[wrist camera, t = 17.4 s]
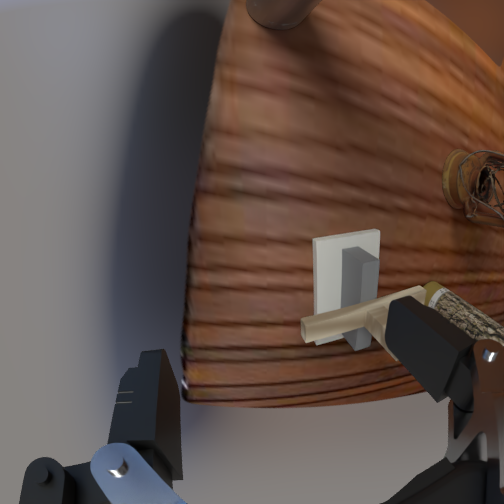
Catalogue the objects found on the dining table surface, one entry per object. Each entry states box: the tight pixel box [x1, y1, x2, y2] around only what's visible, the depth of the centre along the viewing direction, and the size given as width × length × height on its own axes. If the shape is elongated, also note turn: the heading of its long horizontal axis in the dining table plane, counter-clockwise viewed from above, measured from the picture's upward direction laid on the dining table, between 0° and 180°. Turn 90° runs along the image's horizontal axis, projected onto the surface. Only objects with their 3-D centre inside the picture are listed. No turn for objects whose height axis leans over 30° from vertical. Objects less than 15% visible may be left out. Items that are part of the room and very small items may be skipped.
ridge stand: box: [313, 229, 380, 351], centre depth 45 cm, size 20×12×8 cm, turn 6°
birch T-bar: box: [301, 285, 427, 361], centre depth 36 cm, size 3×22×11 cm, turn 96°
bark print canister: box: [423, 281, 504, 346], centre depth 43 cm, size 7×7×25 cm
